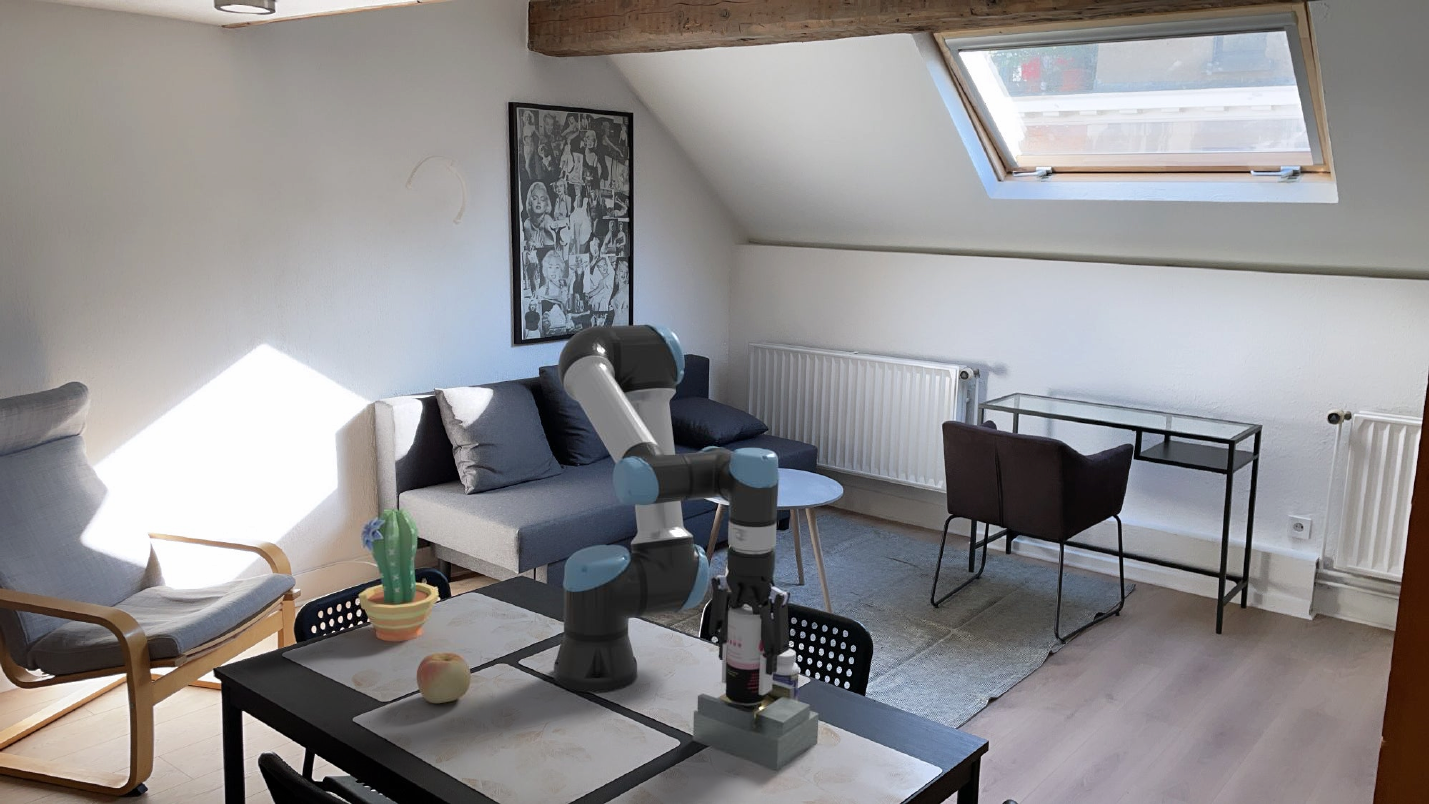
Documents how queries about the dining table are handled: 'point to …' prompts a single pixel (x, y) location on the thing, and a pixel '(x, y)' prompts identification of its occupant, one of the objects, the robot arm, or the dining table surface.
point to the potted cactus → (396, 578)
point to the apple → (443, 677)
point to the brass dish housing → (758, 727)
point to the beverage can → (743, 656)
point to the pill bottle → (787, 670)
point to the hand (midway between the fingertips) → (746, 685)
